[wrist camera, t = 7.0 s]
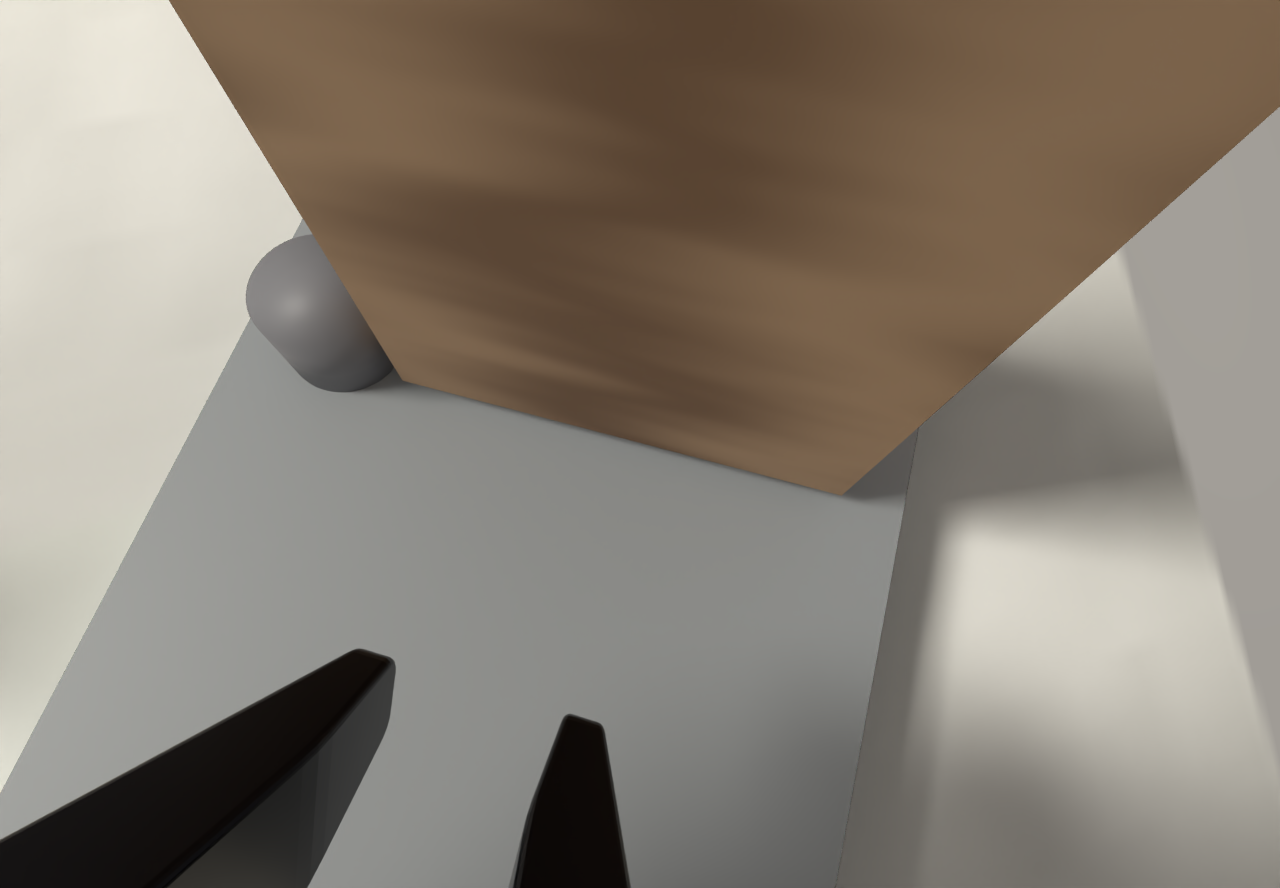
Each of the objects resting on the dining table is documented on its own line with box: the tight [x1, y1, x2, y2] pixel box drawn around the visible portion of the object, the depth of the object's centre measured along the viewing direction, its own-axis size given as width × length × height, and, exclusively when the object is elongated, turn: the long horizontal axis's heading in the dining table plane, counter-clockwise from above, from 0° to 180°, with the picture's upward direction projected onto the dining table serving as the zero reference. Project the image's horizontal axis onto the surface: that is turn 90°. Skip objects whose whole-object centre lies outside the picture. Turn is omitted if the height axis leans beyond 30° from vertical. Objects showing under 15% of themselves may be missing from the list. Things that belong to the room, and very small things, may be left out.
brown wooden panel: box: [169, 0, 1280, 496], centre depth 9 cm, size 9×2×14 cm, turn 75°
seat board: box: [0, 219, 919, 888], centre depth 14 cm, size 16×14×6 cm
